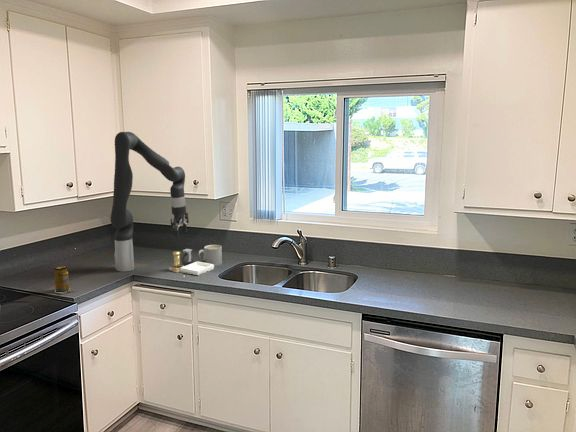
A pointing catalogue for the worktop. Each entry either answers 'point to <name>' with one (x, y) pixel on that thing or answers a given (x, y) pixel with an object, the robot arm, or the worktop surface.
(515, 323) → the worktop surface
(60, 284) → the condiment
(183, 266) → the stop block
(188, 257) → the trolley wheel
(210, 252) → the coffee mug
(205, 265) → the tray
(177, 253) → the pin
